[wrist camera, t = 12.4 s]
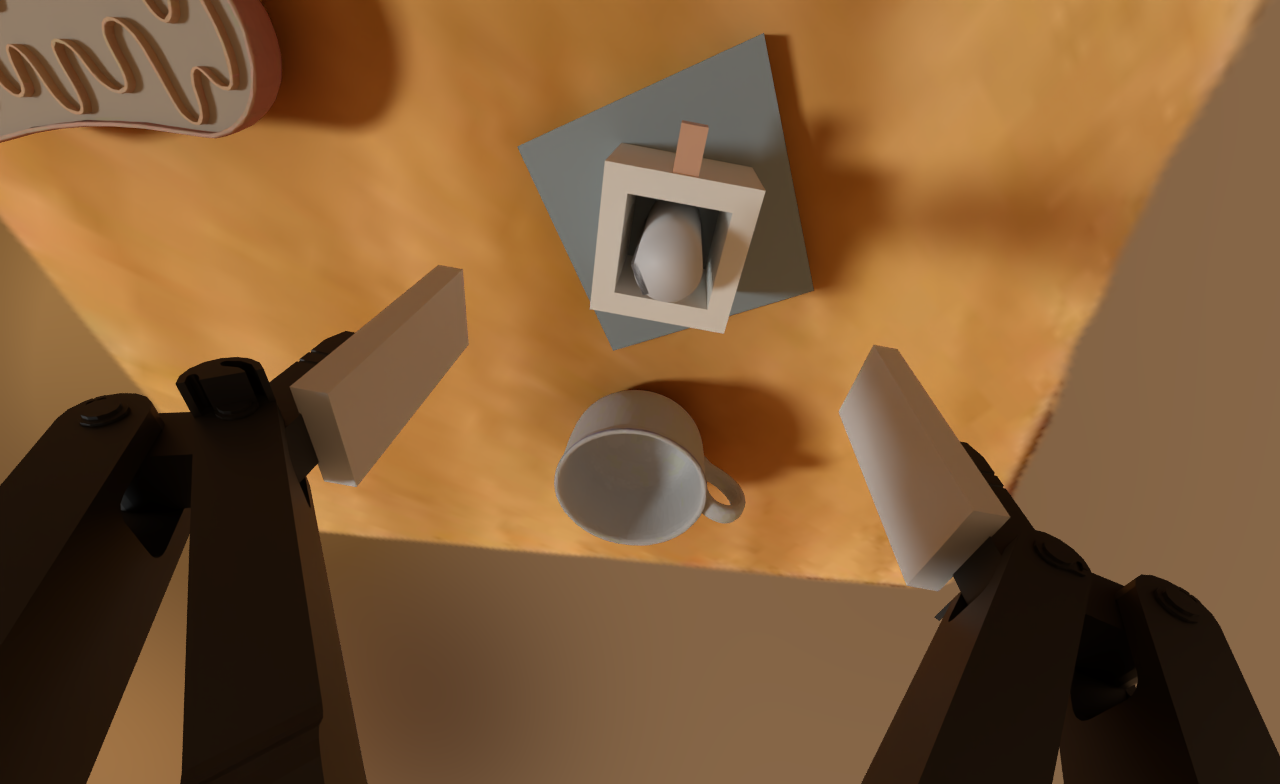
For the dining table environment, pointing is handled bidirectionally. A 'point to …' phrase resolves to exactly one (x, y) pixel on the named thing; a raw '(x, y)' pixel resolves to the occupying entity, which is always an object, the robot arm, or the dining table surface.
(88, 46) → the anatomical model
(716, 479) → the teacup
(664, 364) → the dining table surface
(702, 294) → the white square sleeve
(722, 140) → the board
